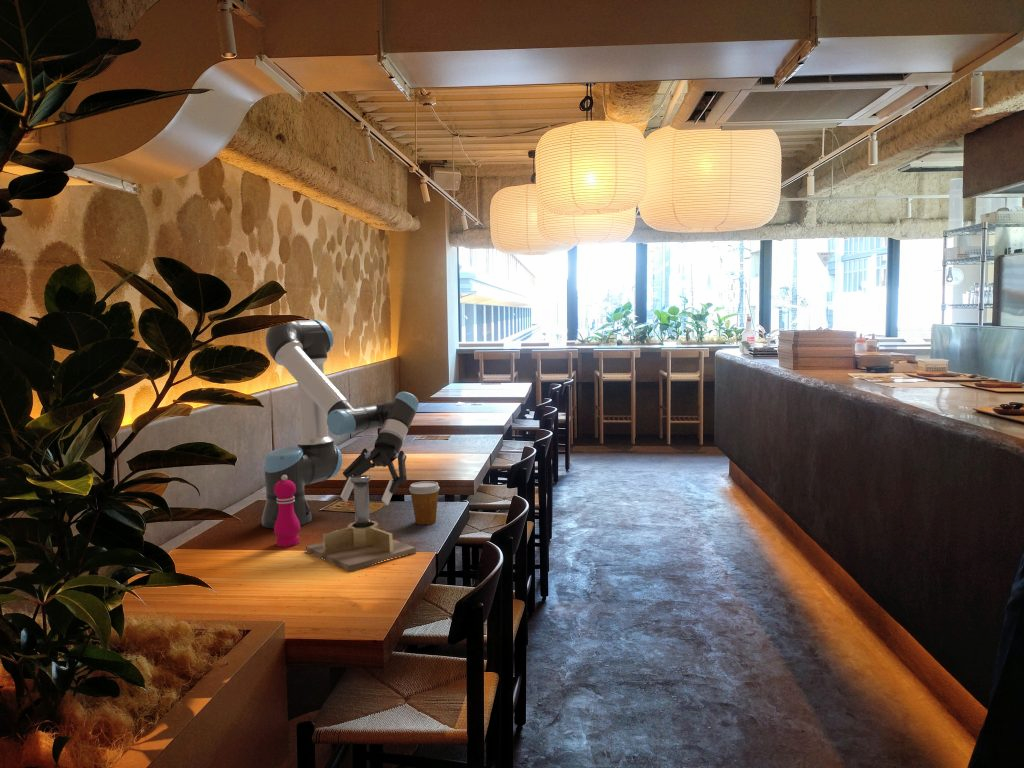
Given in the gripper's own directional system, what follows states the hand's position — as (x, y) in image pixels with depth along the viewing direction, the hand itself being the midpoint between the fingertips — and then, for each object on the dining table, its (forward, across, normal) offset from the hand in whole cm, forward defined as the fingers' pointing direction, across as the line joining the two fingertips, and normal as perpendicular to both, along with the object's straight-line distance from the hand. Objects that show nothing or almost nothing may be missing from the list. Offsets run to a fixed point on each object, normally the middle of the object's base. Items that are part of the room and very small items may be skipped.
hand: (363, 501), depth 198 cm
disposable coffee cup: (-10, -3, -29) cm, 31 cm away
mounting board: (+12, -1, -6) cm, 14 cm away
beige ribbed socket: (+12, -2, -4) cm, 13 cm away
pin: (+8, 0, -8) cm, 12 cm away
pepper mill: (+12, +24, -7) cm, 28 cm away
